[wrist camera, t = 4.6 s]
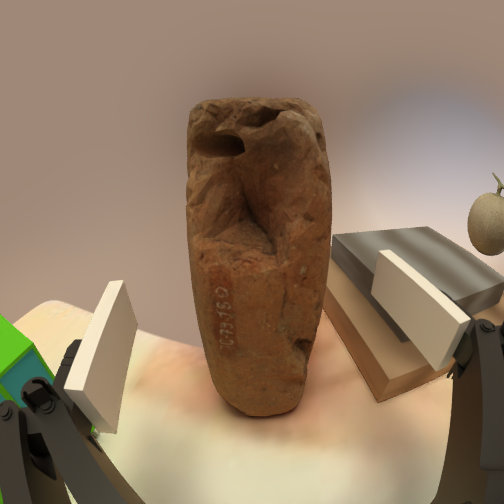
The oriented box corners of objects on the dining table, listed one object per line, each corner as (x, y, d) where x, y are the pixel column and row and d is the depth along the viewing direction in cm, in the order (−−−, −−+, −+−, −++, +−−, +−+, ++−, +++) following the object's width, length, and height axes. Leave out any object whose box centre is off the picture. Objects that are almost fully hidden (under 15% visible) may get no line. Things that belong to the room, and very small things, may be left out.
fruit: (493, 271, 32) (513, 183, 26) (453, 243, 43) (465, 166, 36) (516, 263, 33) (533, 187, 27) (480, 239, 44) (491, 171, 37)
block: (227, 328, 27) (207, 110, 18) (302, 328, 26) (309, 107, 18) (208, 421, 17) (145, 99, 9) (312, 423, 17) (351, 88, 8)
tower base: (421, 252, 40) (428, 218, 37) (514, 330, 20) (533, 288, 17) (299, 269, 37) (301, 227, 34) (378, 402, 17) (402, 350, 15)
